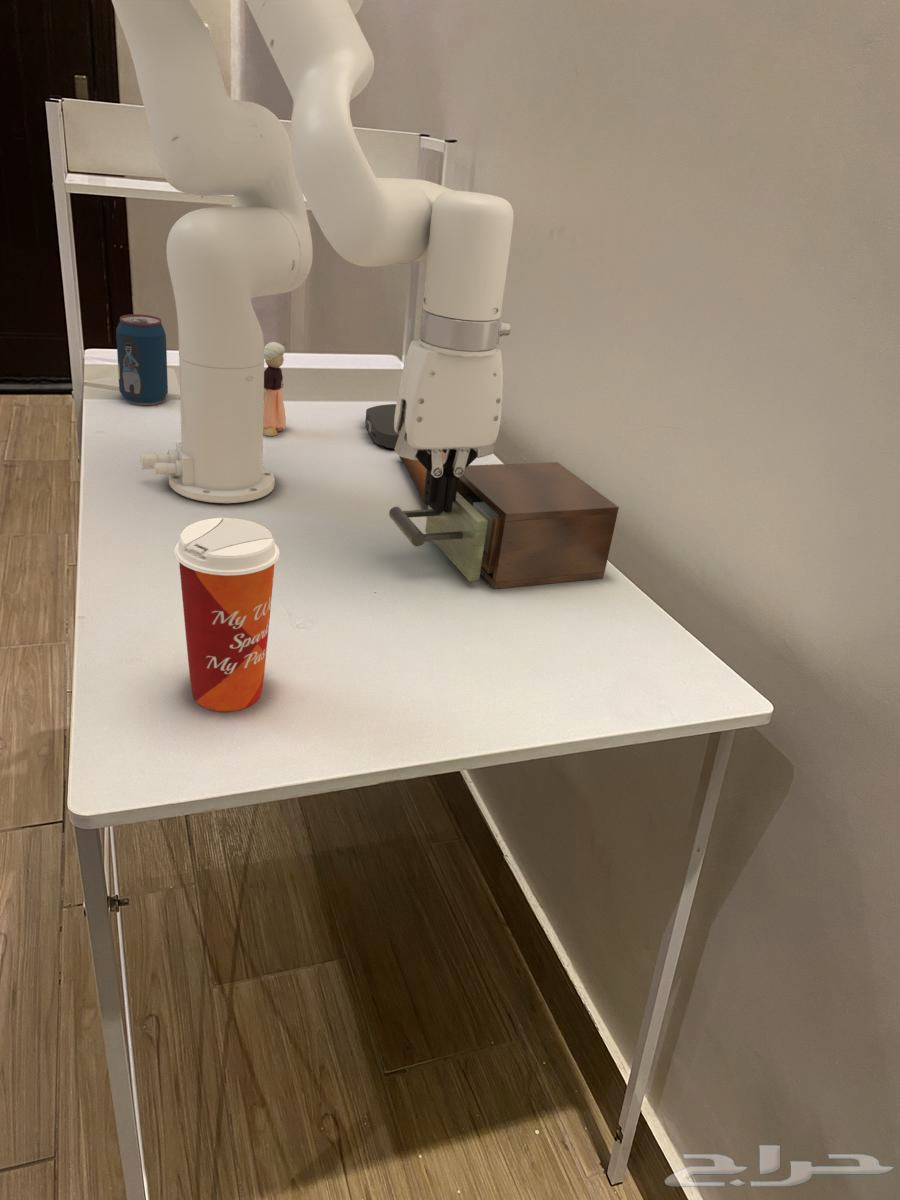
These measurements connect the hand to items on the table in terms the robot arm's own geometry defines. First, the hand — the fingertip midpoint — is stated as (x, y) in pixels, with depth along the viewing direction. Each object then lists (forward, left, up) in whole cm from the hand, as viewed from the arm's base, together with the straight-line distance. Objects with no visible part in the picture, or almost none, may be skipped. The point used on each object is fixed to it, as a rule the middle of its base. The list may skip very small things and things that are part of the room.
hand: (438, 507), depth 96 cm
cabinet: (+11, 0, -7) cm, 13 cm away
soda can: (-23, +60, -7) cm, 65 cm away
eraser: (+7, 0, -5) cm, 9 cm away
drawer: (+5, 0, -6) cm, 8 cm away
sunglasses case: (+10, +22, -7) cm, 25 cm away
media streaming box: (+14, +41, -7) cm, 44 cm away
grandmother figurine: (-7, +45, -7) cm, 46 cm away
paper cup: (-26, -19, -7) cm, 33 cm away
